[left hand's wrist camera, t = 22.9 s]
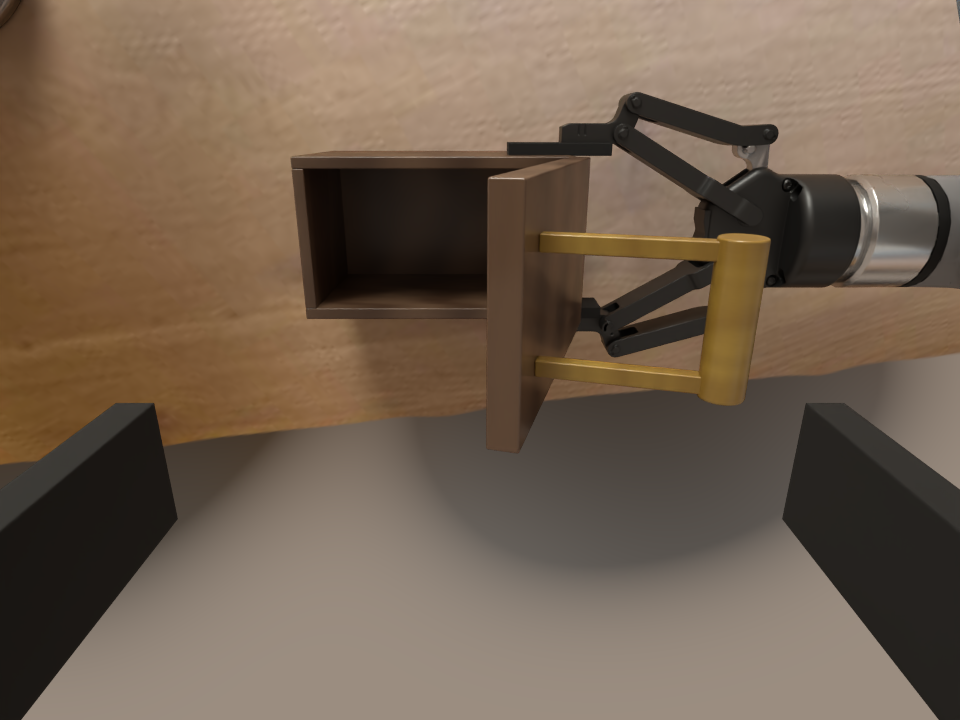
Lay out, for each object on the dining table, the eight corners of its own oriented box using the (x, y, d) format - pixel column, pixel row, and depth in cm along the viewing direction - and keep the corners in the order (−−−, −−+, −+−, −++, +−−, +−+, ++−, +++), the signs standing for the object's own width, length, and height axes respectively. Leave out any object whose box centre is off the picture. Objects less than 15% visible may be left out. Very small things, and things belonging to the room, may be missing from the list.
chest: (341, 280, 50) (306, 318, 40) (331, 151, 46) (289, 156, 36) (549, 280, 50) (568, 319, 40) (555, 151, 47) (577, 156, 36)
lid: (485, 449, 23) (744, 486, 21) (486, 176, 20) (798, 183, 17) (560, 321, 39) (712, 333, 37) (568, 156, 36) (736, 159, 33)
